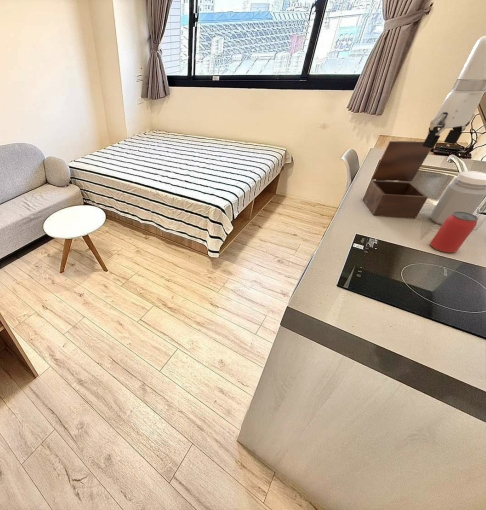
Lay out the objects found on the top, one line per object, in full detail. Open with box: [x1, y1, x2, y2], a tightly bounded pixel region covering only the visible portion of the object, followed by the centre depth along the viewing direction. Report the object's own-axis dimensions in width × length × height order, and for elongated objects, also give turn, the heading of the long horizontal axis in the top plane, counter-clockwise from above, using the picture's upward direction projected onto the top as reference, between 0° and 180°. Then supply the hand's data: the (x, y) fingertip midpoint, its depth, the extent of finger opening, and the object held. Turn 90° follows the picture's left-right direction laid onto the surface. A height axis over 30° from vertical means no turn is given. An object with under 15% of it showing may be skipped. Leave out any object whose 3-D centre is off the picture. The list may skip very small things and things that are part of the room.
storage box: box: [362, 179, 429, 219], centre depth 111 cm, size 15×14×9 cm
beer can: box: [430, 212, 479, 254], centre depth 87 cm, size 7×7×12 cm
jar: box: [430, 170, 486, 226], centre depth 98 cm, size 10×10×18 cm
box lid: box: [371, 140, 433, 182], centre depth 110 cm, size 16×14×5 cm
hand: (438, 145), depth 93 cm, fingers open, 9 cm apart
